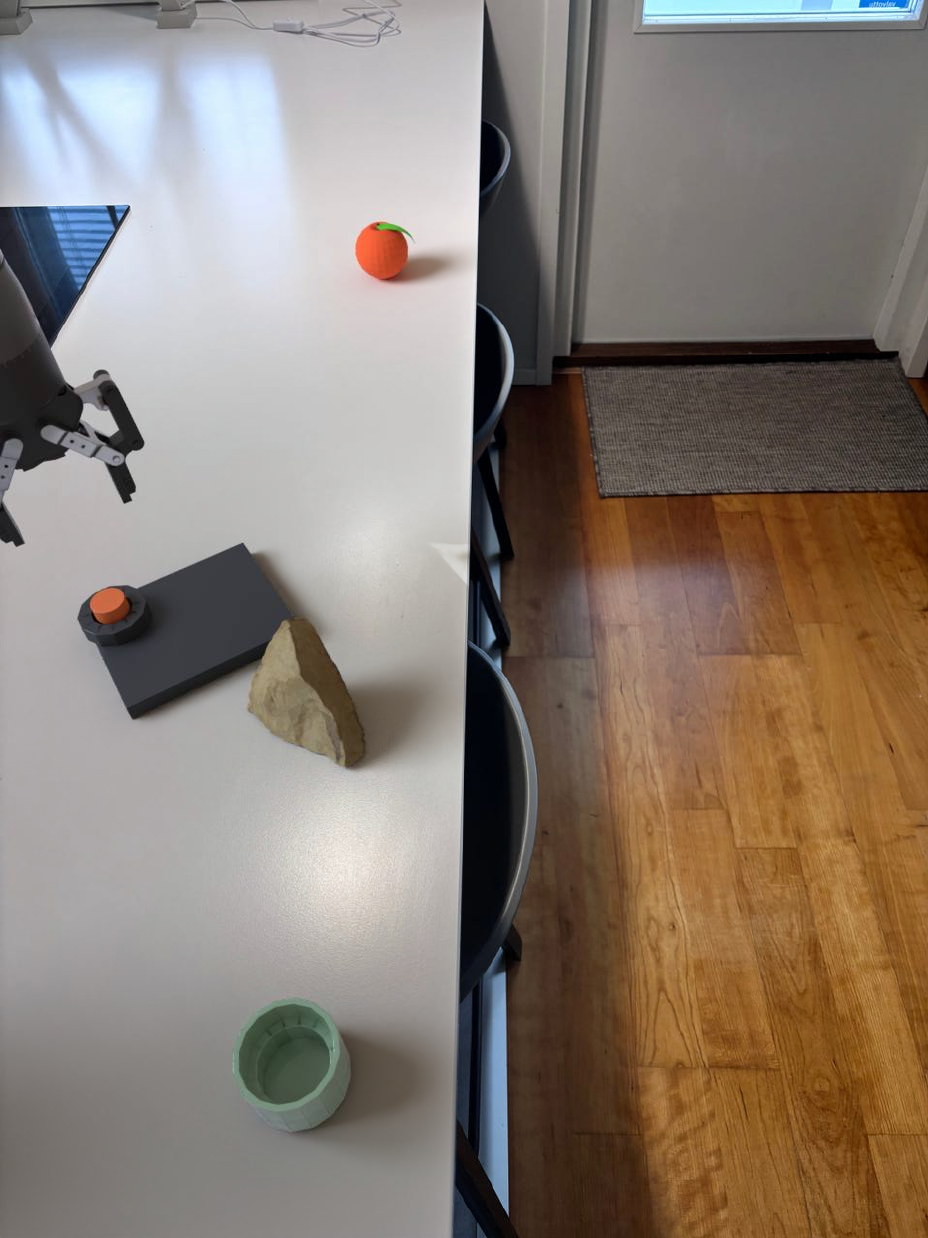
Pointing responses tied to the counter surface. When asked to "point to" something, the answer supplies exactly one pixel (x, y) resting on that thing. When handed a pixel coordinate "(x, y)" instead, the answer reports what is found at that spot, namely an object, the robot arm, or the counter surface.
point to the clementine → (382, 249)
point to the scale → (187, 628)
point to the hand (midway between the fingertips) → (73, 517)
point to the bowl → (292, 1064)
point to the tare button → (110, 606)
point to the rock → (306, 695)
